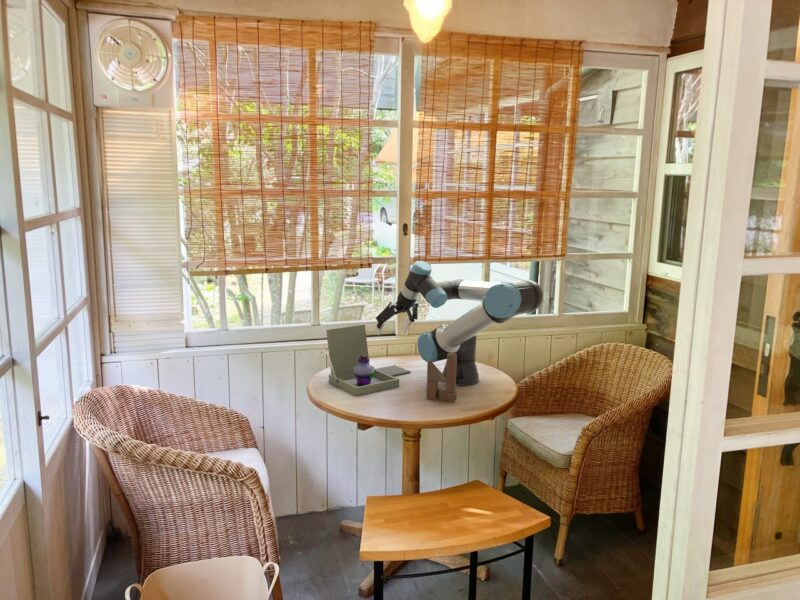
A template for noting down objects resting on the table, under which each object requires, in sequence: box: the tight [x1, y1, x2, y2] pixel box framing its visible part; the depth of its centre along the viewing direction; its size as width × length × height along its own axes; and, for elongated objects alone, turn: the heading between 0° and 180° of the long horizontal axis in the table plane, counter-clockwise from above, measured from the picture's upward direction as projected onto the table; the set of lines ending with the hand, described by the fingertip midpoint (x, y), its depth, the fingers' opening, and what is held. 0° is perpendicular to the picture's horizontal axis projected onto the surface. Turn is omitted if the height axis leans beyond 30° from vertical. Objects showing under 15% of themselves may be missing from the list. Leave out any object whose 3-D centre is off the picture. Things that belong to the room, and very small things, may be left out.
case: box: [324, 324, 400, 397], centre depth 247 cm, size 24×21×21 cm
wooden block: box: [426, 353, 458, 404], centre depth 230 cm, size 4×11×18 cm, turn 71°
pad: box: [376, 364, 411, 377], centre depth 265 cm, size 11×11×1 cm
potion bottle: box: [353, 354, 376, 387], centre depth 247 cm, size 9×9×12 cm
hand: (390, 331), depth 266 cm, fingers open, 13 cm apart
